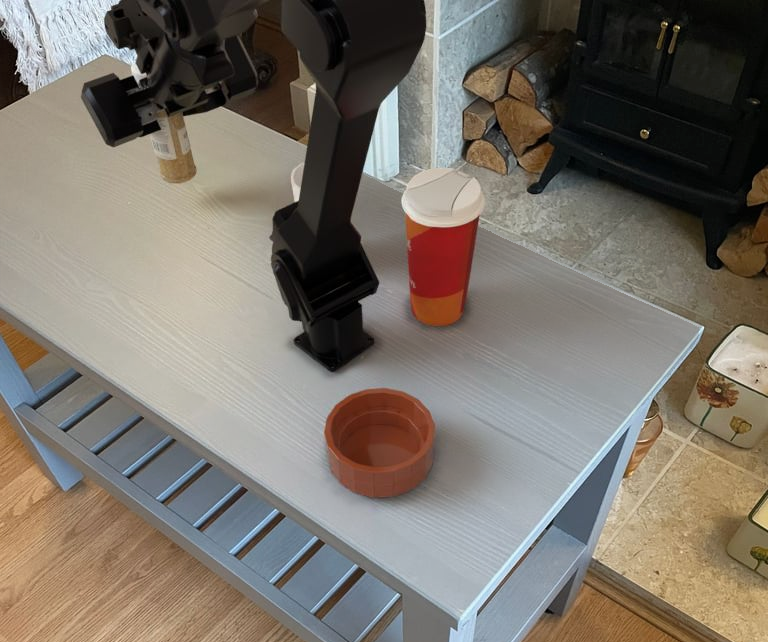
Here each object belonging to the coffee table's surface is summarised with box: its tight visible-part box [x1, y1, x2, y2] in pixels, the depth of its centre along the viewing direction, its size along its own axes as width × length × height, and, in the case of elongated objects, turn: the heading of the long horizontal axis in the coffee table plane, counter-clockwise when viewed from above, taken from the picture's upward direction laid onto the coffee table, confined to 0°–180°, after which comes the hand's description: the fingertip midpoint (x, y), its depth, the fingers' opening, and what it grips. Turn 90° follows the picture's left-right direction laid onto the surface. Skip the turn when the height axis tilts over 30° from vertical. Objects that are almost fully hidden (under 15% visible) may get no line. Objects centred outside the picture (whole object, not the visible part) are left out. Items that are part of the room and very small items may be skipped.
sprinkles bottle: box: [130, 60, 198, 185], centre depth 94 cm, size 5×5×13 cm
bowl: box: [323, 387, 436, 498], centre depth 77 cm, size 10×10×4 cm
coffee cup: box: [400, 167, 486, 327], centre depth 84 cm, size 8×8×15 cm
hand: (160, 118), depth 95 cm, fingers closed on sprinkles bottle, 4 cm apart
